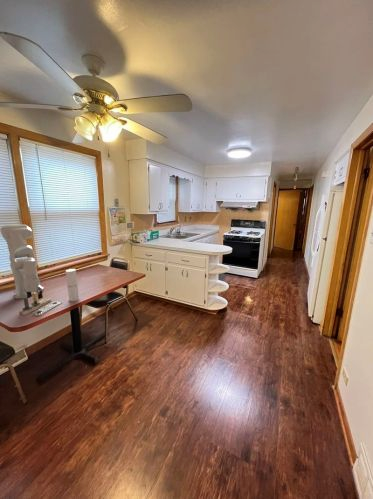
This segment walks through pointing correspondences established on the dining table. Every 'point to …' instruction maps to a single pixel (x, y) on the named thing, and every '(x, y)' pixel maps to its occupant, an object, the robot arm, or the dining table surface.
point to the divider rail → (33, 306)
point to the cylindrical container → (72, 284)
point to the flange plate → (46, 308)
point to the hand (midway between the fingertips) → (35, 298)
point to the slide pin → (35, 299)
